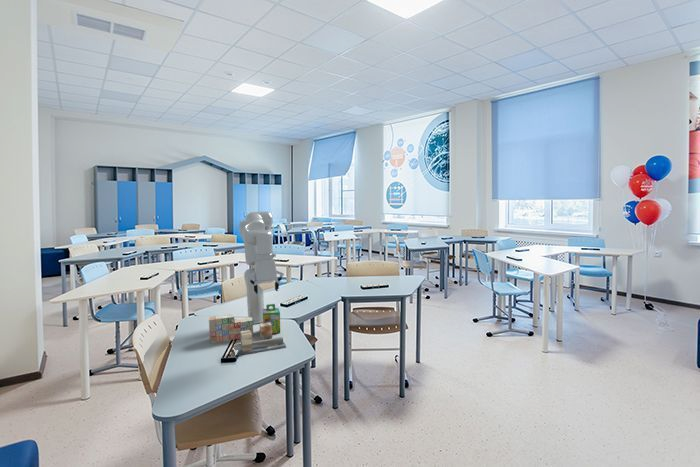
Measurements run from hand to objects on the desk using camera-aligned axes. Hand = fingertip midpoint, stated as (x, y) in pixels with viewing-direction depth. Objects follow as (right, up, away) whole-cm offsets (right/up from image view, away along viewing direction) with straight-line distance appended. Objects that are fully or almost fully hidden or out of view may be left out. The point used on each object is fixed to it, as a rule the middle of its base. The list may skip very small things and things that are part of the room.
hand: (266, 291), depth 183 cm
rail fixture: (-3, -27, -1) cm, 28 cm away
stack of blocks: (-21, -27, +13) cm, 36 cm away
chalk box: (-2, -25, +22) cm, 34 cm away
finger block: (-3, -26, +10) cm, 28 cm away
